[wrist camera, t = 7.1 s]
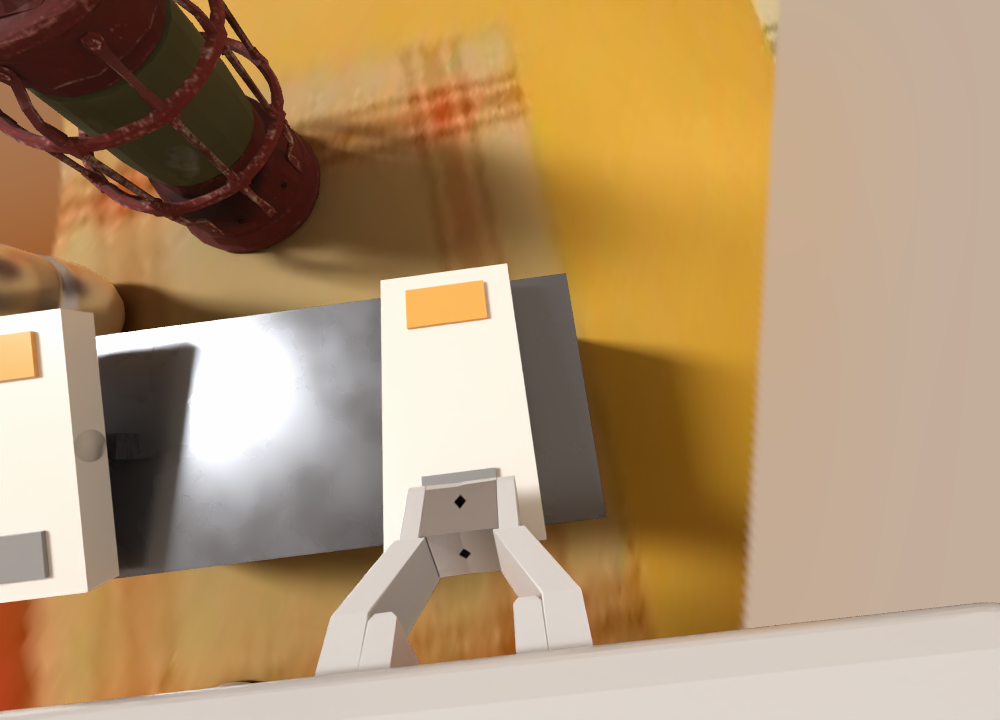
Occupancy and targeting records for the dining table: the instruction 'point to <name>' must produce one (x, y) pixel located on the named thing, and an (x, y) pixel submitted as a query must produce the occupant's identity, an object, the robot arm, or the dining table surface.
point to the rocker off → (53, 459)
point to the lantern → (161, 113)
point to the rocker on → (453, 390)
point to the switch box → (301, 431)
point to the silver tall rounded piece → (57, 289)
